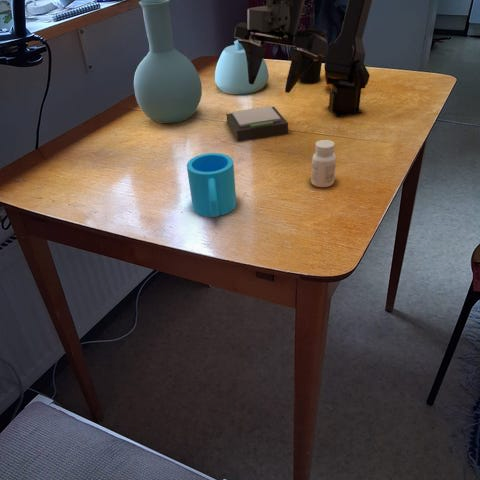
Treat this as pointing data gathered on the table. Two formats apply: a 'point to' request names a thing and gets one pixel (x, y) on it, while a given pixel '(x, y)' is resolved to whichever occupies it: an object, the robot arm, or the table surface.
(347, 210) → the table surface
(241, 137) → the scale
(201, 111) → the table surface
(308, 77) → the cup
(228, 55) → the sugar bowl
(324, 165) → the pill bottle
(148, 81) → the vase
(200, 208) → the mug
